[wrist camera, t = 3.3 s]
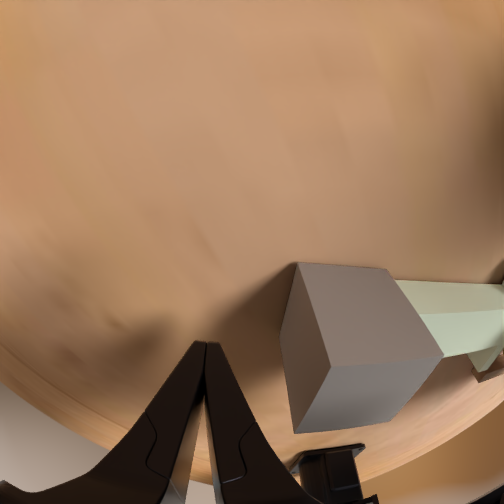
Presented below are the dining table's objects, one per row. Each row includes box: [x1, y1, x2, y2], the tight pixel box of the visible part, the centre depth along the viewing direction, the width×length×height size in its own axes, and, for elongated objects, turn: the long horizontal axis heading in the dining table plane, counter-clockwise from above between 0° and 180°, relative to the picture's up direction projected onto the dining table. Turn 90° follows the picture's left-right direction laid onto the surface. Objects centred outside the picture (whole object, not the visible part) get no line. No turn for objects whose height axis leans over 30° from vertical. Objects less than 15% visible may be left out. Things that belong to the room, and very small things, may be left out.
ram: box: [279, 262, 504, 434], centre depth 10 cm, size 8×15×5 cm, turn 83°
